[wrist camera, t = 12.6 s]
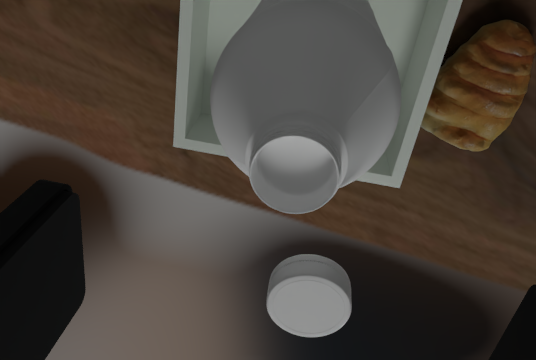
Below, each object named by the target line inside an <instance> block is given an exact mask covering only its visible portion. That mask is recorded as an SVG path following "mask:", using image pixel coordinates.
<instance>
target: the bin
mask: <svg viewBox="0 0 536 360" xmlns="http://www.w3.org/2000/svg"><path fill="white" fill-rule="evenodd" d="M260 2H261V0H180V20H179V41H178V61H177V82H176V102H175V123H174V143H173V147H178V148H184V149H189V150H195V151H200V152H205V153H211V154H216V155H222V156H227V155H226V153H225V151H224V149H223V147H222V145H221V143H220V141H219V139H218V136H217V134H216V131H215V128H214V124H213V120H212V115H211V106H210V92H211V83H212V78H213V74H214V71H215V68H216V65H217V62H218V60H219V58H220V56H221V54H222V52H223V50H224V48H225V47H226V45H227V44H228V42H229V41H230V39H231V38H232V37H233V36H234V34H235V33H236V32H237V31H238V30H239V29H240V28H241V27H242V26H243V25H244V23H245V22H246V21H247V20H248V18H249V17H250V16H251V14H252V13H253V12H254V11H255V9H256V8H257V6H258V5H259V3H260ZM368 2H369V3H370V6H371V8H372V10H373V12H374V15H375V18H376V21H377V23H378V25H379V28H380V30H381V33H382V34H383V37H384V39H385V42H386V44H387V46H388V47H389V49H390V50H391V52H392V54H393V57H394V60H395V64H396V67H397V70H398V74H399V79H400V85H401V109H400V115H399V120H398V123H397V127H396V130H395V132H394V135H393V137H392V139H391V141H390V143H389V145H388V147H387V148H386V150H385V152H384V153H383V154H382V156H381V157H380V158H379V160H378V161H377V162H376V163H375V164H374V165H373V166H372V167H371V168H370V169H369V170H368V171H367V172H366V173H365V174H363V175H362V176H361V177H359V178H358V179H356V180H358V181H363V182H369V183H374V184H380V185H385V186H391V187H396V188H400V185H401V182H402V179H403V176H404V173H405V170H406V167H407V164H408V162H409V159H410V156H411V153H412V150H413V147H414V144H415V141H416V138H417V135H418V132H419V129H420V126H421V123H422V120H423V117H424V114H425V111H426V108H427V105H428V102H429V99H430V96H431V93H432V90H433V87H434V84H435V81H436V78H437V75H438V72H439V69H440V66H441V63H442V60H443V57H444V54H445V51H446V48H447V45H448V42H449V39H450V36H451V33H452V30H453V27H454V24H455V21H456V18H457V15H458V12H459V9H460V6H461V3H462V0H368ZM227 157H228V156H227Z"/></svg>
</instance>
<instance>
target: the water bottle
mask: <svg viewBox="0 0 536 360" xmlns="http://www.w3.org/2000/svg"><path fill="white" fill-rule="evenodd" d="M210 106H211V115H212V120H213V124H214V128H215V131H216V134H217V136H218V139H219V141H220V143H221V145H222V147H223V149H224V151H225V153H226V155H227V156H228V157H229V158H230V159H231V160H232V161H233V162H234V164H235V165H236V166H237V167H238V168H239V169H240V170H241V171H243V172H244V173H245V174H246V175H248V176H249V179H250V182H251V185H252V187H253V189H254V191H255V193H256V194H257V196H258V197H259V198H260V199H261V200H262V201H263V202H264V203H265V204H267V205H268V206H270V207H271V208H273V209H275V210H278V211H281V212H284V213H290V214H302V213H307V212H311V211H314V210H316V209H318V208H320V207H322V206H323V205H325V204H326V203H327V202H328V201H329V200H330V199H331V198H332V197H333V196H334V194H335V193H336V191H337V190H338V188H341V187H343V186H345V185H347V184H349V183H351V182H353V181H355V180H356V179H358V178H359V177H361V176H362V175H363V174H365V173H366V172H367V171H368V170H369V169H370V168H371V167H372V166H373V165H374V164H375V163H376V162H377V161H378V160H379V158H380V157H381V156H382V154H383V153H384V152H385V150H386V148H387V147H388V145H389V143H390V141H391V139H392V137H393V135H394V132H395V130H396V127H397V123H398V120H399V115H400V109H401V85H400V79H399V74H398V70H397V67H396V64H395V60H394V57H393V54H392V52H391V50H390V49H389V47H388V46H387V44H386V42H385V39H384V37H383V34H382V33H381V30H380V28H379V25H378V23H377V21H376V18H375V15H374V12H373V10H372V8H371V6H370V3H369V2H368V0H261V2H260V3H259V5H258V6H257V8H256V9H255V11H254V12H253V13H252V14H251V16H250V17H249V18H248V20H247V21H246V22H245V23H244V25H243V26H242V27H241V28H240V29H239V30H238V31H237V32H236V33H235V34H234V36H233V37H232V38H231V39H230V41H229V42H228V44H227V45H226V47H225V48H224V50H223V52H222V54H221V56H220V58H219V60H218V62H217V65H216V68H215V71H214V74H213V78H212V83H211V92H210ZM304 260H310V261H304ZM297 261H298V262H297ZM316 261H318V262H316ZM321 262H322V263H321ZM324 263H325V264H324ZM287 264H288V265H287ZM285 265H286V266H285ZM331 266H332V267H331ZM333 267H334V268H333ZM336 269H337V270H336ZM266 304H267V310H268V313H269V315H270V316H271V318H272V320H273V321H274V322H275V323H276V324H277V325H278V326H279V327H281V328H282V329H284V330H286V331H287V332H290V333H292V334H295V335H298V336H303V337H320V336H325V335H328V334H331V333H333V332H335V331H337V330H338V329H339V328H341V327H342V326H343V325H344V324H345V323H346V322H347V320H348V318H349V316H350V314H351V308H352V307H351V306H352V305H351V286H350V280H349V278H348V275H347V273H346V272H345V271H344V270H343V268H342V267H341V266H340V265H338V264H337V263H336V262H334V261H333V260H331V259H328V258H326V257H323V256H319V255H314V254H302V255H296V256H292V257H290V258H287V259H285V260H284V261H282V262H281V263H280V264H278V265H277V266H276V267H275V269H274V270H273V272H272V274H271V277H270V281H269V286H268V294H267V301H266Z"/></svg>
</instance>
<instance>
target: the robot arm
mask: <svg viewBox="0 0 536 360" xmlns="http://www.w3.org/2000/svg"><path fill="white" fill-rule="evenodd" d="M84 295H85V274H84V260H83V245H82V230H81V215H80V200H79V196H78V194H76V193H73V192H72V189H71V187H70V186H69V185H68V184H63V183H58V182H52V181H48V180H38V181H37V182H36V183H34V184H33V185H32V186H31V187H30V188H29V189H27V190H26V191H25V192H24V193H23V194H22V195H21V196H20V197H18V198H17V199H16V200H15V201H14V202H13V203H12V204H10V205H9V206H8V207H7V208H6V209H5V210H4V211H2V212H1V213H0V360H45V358H46V357H47V356H48V354H49V353H50V351H51V349H52V348H53V346H54V345H55V343H56V342H57V340H58V339H59V337H60V336H61V334H62V333H63V331H64V330H65V328H66V327H67V325H68V324H69V322H70V321H71V319H72V317H73V316H74V315H75V313H76V312H77V310H78V309H79V307H80V306H81V304H82V301H83V299H84ZM489 360H536V285H533V286H531V287H530V288H529V290H528V292H527V293H526V295H525V297H524V299H523V300H522V302H521V304H520V306H519V308H518V309H517V311H516V313H515V314H514V316H513V318H512V320H511V321H510V323H509V325H508V327H507V329H506V330H505V332H504V334H503V336H502V337H501V339H500V341H499V343H498V344H497V346H496V348H495V350H494V351H493V353H492V355H491V357H490V358H489Z"/></svg>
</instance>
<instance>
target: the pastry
mask: <svg viewBox="0 0 536 360" xmlns="http://www.w3.org/2000/svg"><path fill="white" fill-rule="evenodd" d="M535 53H536V47H535V43H534V41H533V38H532V36H531V34H530V32H529V30H528V29H527V28H526V27H525V26H524V25H522V24H520V23H518V22H515V21H512V20H501V21H498V22H495V23H491V24H487V25H484V26H482V27H481V28H480V29H479V30H478V32H477V33H476V34H474V35H473V36H472V37H471V38H470V39H469V41H467V42H466V43H464V44H463V45H461V46H460V47H459V49H458V50H457V51H456V52H455V53H454V54H453V55H452V56H451V57H449V58H447V59H446V61H445V64H444V65H443V66H442V67H441V68H440V69H439V72H438V75H437V78H436V81H435V84H434V87H433V90H432V93H431V96H430V99H429V102H428V105H427V108H426V111H425V114H424V117H423V120H422V123H421V127H422V128H424V129H425V130H426V131H429V132H431V133H433V134H434V135H436V136H437V137H438V138H440V139H442V140H444V141H446V142H448V143H450V144H452V145H454V146H456V147H458V148H461V149H469V150H471V151H482V150H484V149H487V148H489V146H490V144H491V142H492V141H493V140H494V139H495V138H496V137H497V136H498V135H500V134H501V133H502V132H503V131H504V130H505V129H506V128H507V127H508V126H509V125H510V123H511V121H512V119H513V117H514V115H515V112H516V111H517V110H518V108H519V107H520V105H521V103H522V101H523V97H524V95H525V93H526V92H527V87H528V82H529V80H530V77H531V75H530V71H531V66H532V62H533V58H534V55H535Z"/></svg>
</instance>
